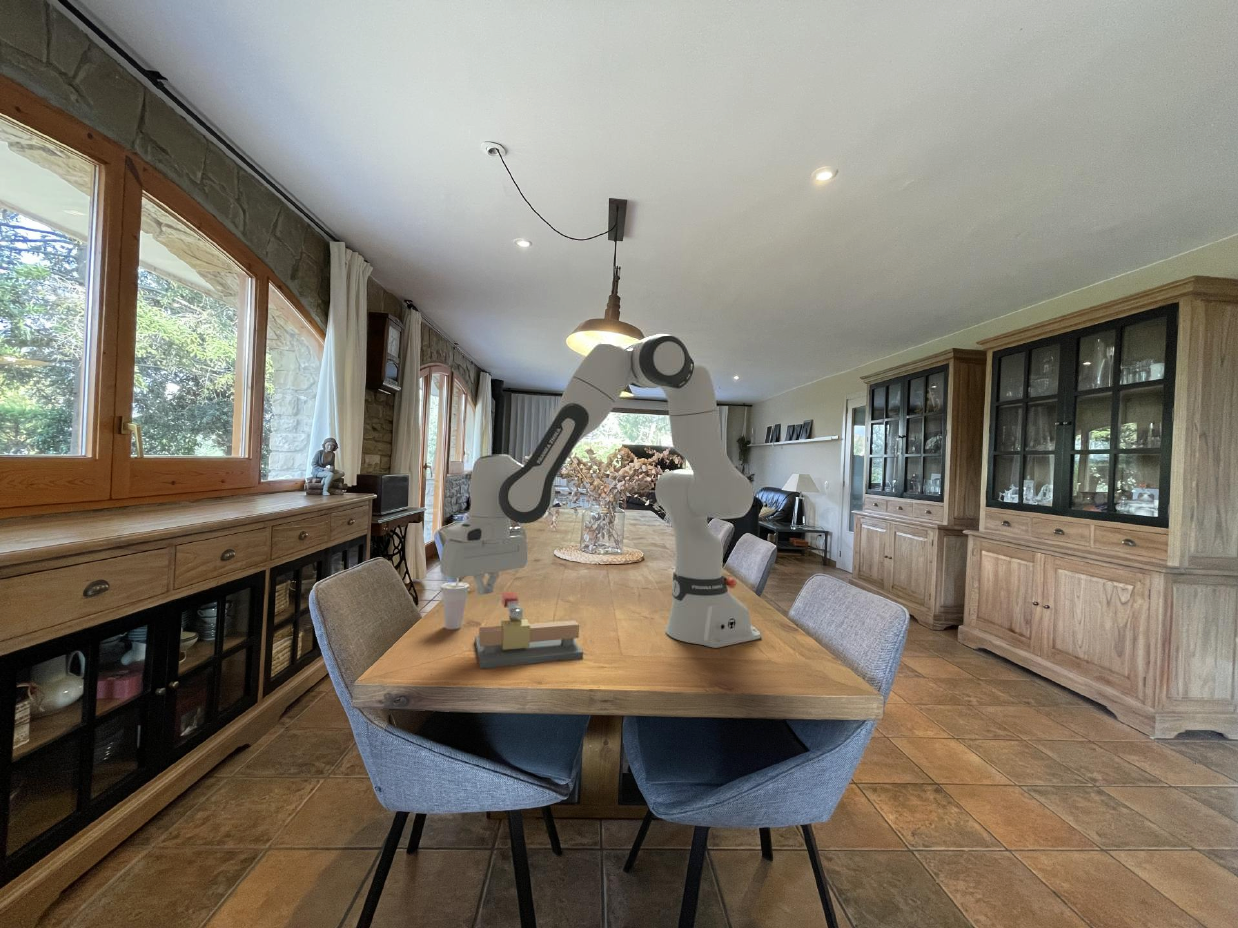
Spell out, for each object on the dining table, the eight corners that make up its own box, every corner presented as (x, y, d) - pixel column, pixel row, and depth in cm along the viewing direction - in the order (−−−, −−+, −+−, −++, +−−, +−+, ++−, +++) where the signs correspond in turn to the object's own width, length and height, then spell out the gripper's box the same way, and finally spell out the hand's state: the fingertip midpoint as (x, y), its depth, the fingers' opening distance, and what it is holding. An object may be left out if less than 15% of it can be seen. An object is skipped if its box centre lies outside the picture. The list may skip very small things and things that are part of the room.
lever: (523, 620, 99) (524, 609, 99) (509, 621, 98) (510, 610, 98) (513, 601, 111) (514, 592, 111) (501, 602, 110) (501, 592, 110)
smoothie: (458, 632, 111) (461, 570, 111) (433, 629, 112) (435, 568, 112) (472, 623, 117) (475, 565, 117) (448, 620, 118) (450, 562, 118)
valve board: (565, 634, 113) (566, 603, 113) (582, 657, 100) (584, 623, 100) (474, 641, 105) (476, 609, 105) (480, 668, 92) (482, 631, 92)
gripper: (517, 524, 116) (514, 583, 116) (438, 530, 100) (434, 598, 100) (535, 527, 112) (531, 588, 112) (456, 534, 96) (451, 605, 96)
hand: (485, 593), depth 105 cm, fingers closed
